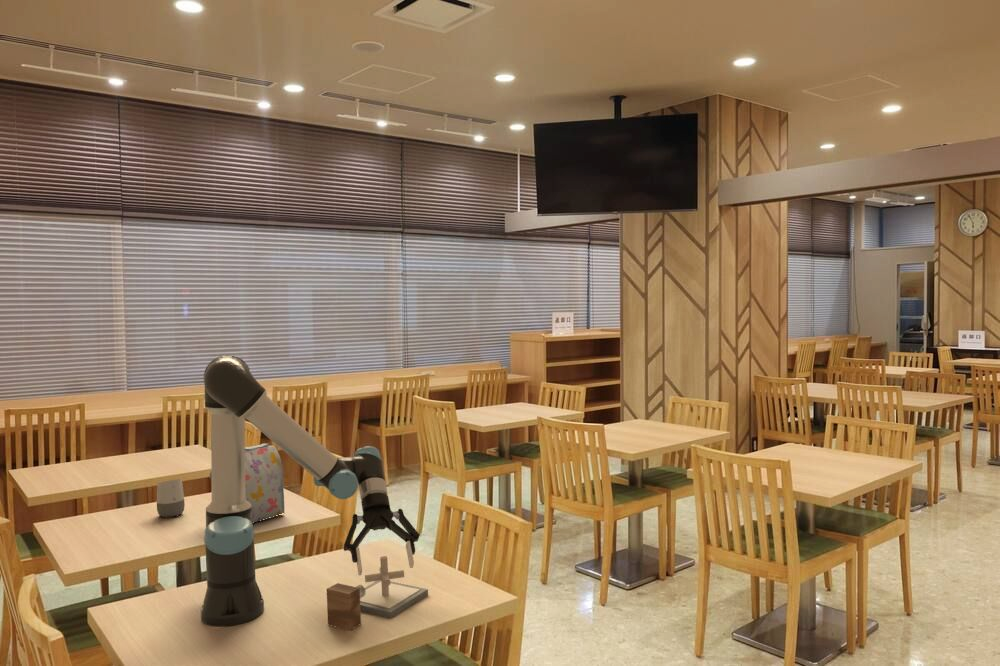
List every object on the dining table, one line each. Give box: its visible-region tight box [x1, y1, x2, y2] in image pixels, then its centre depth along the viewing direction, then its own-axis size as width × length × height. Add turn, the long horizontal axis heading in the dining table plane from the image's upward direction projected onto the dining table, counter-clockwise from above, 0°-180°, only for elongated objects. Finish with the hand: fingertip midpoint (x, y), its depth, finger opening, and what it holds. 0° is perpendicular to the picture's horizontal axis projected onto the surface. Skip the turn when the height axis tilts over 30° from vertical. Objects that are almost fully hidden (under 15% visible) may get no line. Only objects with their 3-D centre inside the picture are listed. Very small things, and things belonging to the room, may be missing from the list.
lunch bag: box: [209, 443, 285, 524], centre depth 273 cm, size 22×17×26 cm
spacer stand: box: [326, 580, 429, 631], centre depth 194 cm, size 26×16×9 cm, turn 150°
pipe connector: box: [364, 555, 405, 596], centre depth 197 cm, size 10×10×10 cm
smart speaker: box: [156, 478, 186, 518], centre depth 281 cm, size 10×9×14 cm
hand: (386, 569), depth 198 cm, fingers open, 13 cm apart
